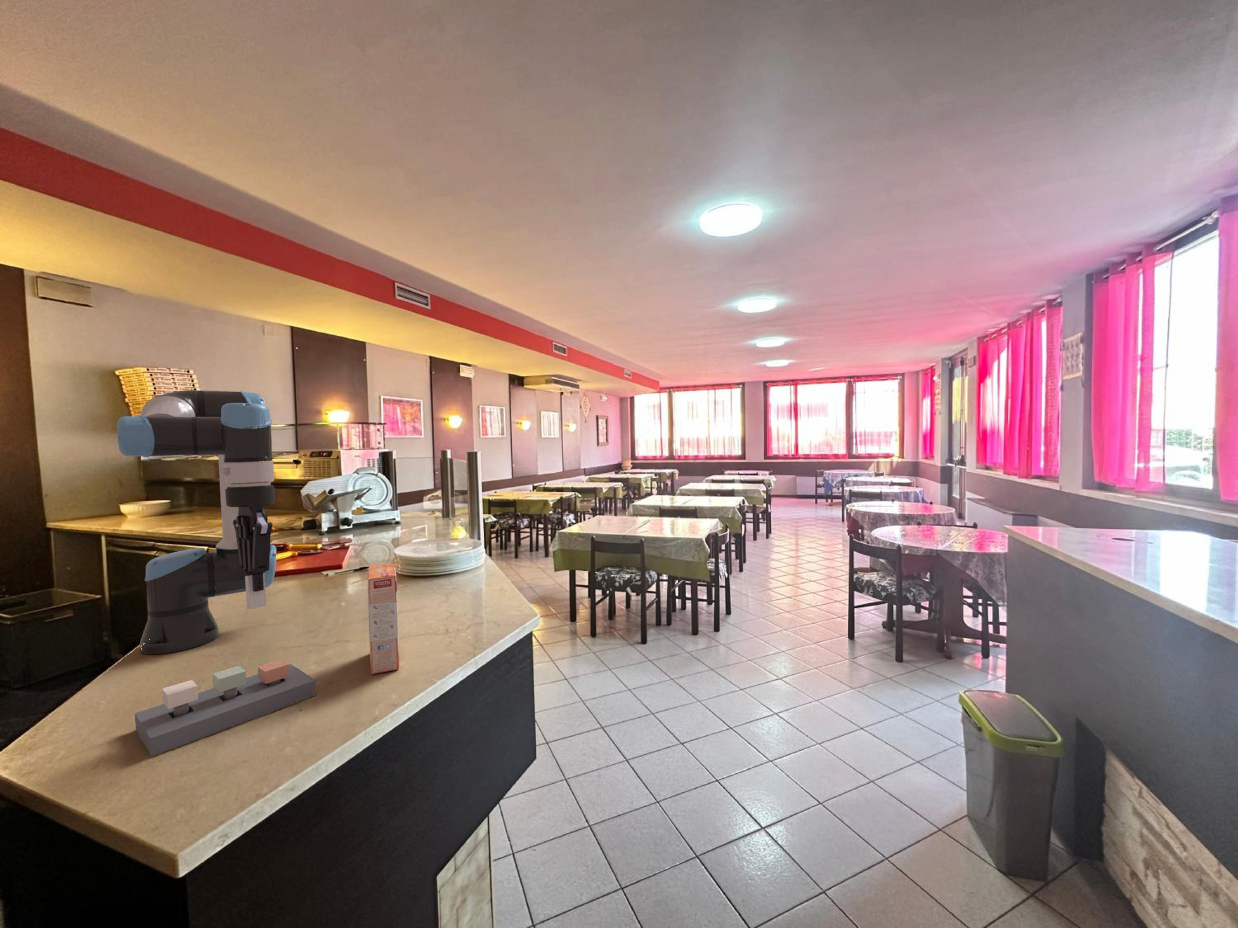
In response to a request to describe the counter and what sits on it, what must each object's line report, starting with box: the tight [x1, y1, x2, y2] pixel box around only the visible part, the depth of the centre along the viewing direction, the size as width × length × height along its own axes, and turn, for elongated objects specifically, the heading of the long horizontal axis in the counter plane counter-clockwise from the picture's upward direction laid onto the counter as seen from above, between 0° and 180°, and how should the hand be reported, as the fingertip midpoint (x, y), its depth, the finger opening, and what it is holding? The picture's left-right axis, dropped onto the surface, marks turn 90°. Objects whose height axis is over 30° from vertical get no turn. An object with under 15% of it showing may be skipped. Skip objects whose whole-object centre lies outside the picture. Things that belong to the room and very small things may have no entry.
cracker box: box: [367, 563, 400, 675], centre depth 113 cm, size 14×6×21 cm, turn 26°
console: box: [134, 663, 317, 757], centre depth 93 cm, size 13×24×3 cm, turn 142°
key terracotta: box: [257, 659, 290, 686], centre depth 98 cm, size 4×4×5 cm
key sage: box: [212, 665, 247, 701], centre depth 92 cm, size 4×4×5 cm
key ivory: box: [161, 679, 199, 718], centre depth 87 cm, size 4×4×5 cm
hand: (256, 606), depth 96 cm, fingers closed
